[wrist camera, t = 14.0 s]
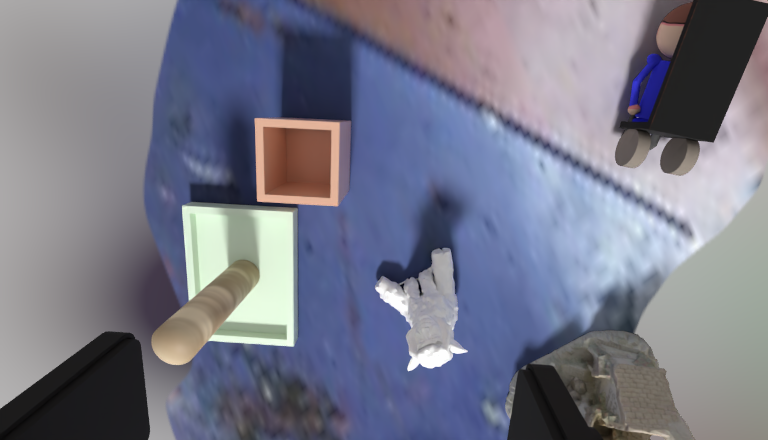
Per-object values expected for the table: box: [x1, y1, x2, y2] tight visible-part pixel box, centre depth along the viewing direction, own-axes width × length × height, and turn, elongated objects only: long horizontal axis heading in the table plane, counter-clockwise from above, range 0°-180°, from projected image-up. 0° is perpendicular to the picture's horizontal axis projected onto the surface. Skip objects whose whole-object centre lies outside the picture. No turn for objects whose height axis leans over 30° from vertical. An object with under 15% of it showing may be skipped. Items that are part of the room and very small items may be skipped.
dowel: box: [152, 260, 260, 365], centre depth 40 cm, size 4×4×15 cm
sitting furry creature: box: [375, 248, 467, 371], centre depth 42 cm, size 10×9×12 cm
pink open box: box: [255, 117, 351, 206], centre depth 41 cm, size 7×7×8 cm
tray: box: [182, 202, 298, 346], centre depth 48 cm, size 16×12×2 cm
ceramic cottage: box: [505, 330, 695, 440], centre depth 44 cm, size 16×16×15 cm
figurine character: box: [615, 0, 768, 176], centre depth 39 cm, size 7×8×15 cm
